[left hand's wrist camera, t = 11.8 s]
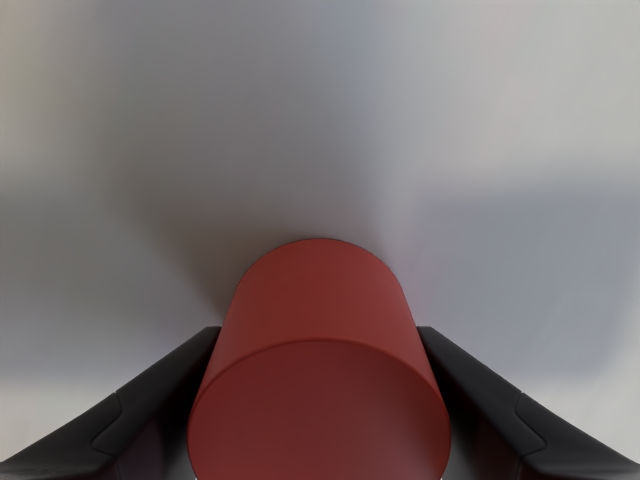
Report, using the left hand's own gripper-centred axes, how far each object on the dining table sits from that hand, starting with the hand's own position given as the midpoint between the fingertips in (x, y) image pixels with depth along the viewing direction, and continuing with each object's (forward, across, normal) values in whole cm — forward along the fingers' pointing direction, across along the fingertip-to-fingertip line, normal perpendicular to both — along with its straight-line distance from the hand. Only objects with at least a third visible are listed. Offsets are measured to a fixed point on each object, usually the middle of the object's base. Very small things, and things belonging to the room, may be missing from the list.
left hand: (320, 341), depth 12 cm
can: (+1, 0, 0) cm, 1 cm away
